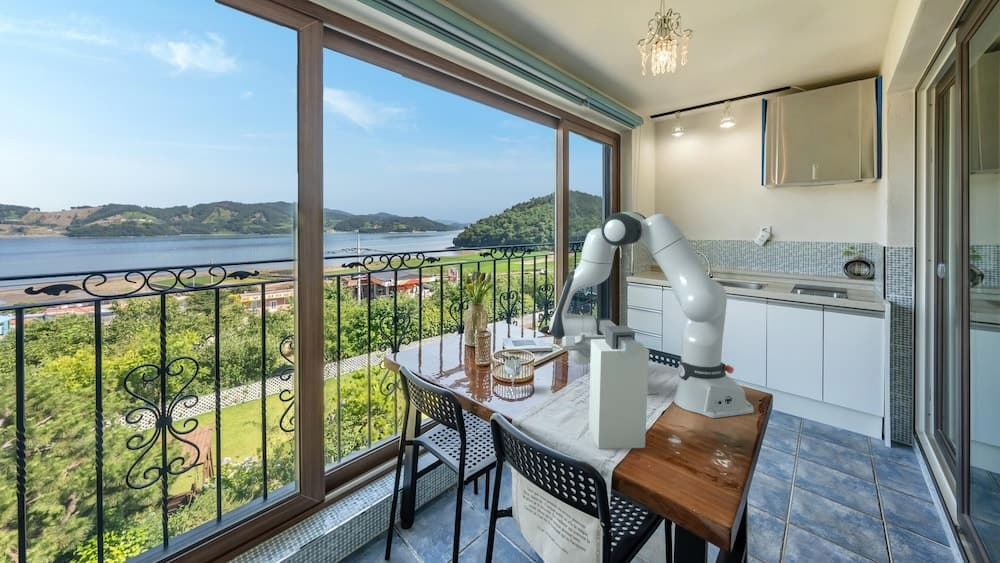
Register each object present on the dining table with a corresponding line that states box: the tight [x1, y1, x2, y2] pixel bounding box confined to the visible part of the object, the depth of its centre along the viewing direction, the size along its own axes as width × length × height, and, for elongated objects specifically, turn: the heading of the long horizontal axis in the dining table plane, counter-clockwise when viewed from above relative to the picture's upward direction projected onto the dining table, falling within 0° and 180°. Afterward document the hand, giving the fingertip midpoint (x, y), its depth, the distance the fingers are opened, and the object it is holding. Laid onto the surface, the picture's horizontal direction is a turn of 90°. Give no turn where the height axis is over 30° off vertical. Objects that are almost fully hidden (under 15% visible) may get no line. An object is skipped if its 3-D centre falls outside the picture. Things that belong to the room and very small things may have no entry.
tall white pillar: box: [588, 325, 650, 450], centre depth 104 cm, size 12×10×30 cm
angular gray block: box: [597, 318, 638, 356], centre depth 105 cm, size 3×24×3 cm, turn 1°
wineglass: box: [503, 355, 522, 395], centre depth 135 cm, size 6×6×12 cm
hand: (598, 337), depth 123 cm, fingers open, 8 cm apart
